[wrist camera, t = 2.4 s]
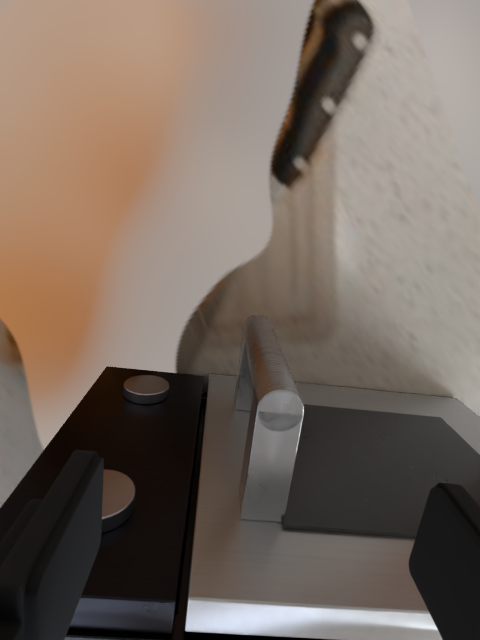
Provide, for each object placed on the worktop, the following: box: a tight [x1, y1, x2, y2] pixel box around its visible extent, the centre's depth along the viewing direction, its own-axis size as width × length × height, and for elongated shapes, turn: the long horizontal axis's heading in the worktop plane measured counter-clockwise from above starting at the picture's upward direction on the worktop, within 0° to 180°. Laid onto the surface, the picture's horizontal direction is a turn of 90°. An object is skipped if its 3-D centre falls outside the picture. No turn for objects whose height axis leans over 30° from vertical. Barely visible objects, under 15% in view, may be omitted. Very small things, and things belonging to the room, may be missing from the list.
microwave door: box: [184, 314, 480, 640], centre depth 23 cm, size 8×22×20 cm, turn 83°
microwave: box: [0, 367, 331, 640], centre depth 27 cm, size 24×30×20 cm
